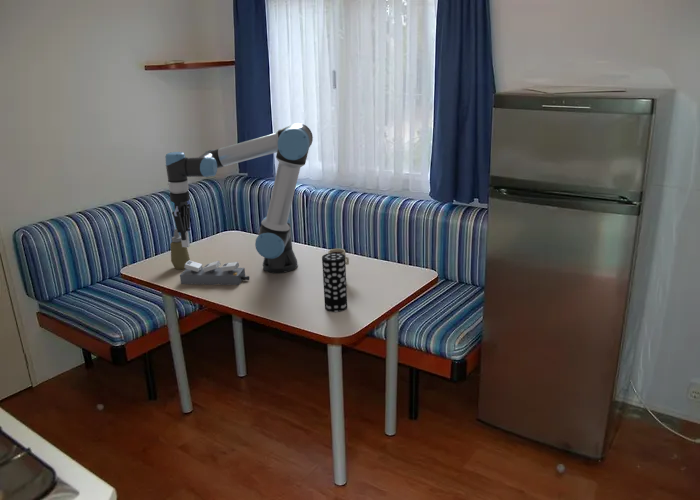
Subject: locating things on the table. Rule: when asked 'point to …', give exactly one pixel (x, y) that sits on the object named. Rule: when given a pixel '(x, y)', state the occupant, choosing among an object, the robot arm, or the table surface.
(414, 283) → the table surface
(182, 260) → the squeeze bottle
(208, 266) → the block
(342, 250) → the character mug
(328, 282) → the spotted tube
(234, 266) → the plate
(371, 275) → the table surface
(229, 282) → the switch strip
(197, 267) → the plate
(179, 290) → the table surface
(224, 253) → the table surface
